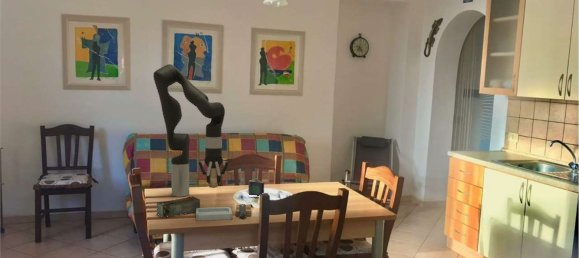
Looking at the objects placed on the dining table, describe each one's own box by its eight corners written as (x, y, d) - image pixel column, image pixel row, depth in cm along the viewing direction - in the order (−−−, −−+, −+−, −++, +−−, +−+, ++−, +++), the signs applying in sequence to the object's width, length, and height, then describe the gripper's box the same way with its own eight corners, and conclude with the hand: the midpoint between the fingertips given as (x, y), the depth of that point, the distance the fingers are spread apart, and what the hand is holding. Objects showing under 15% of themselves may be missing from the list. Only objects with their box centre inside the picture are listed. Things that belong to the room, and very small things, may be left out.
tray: (196, 213, 222) (196, 208, 222) (230, 212, 225) (230, 207, 224) (195, 220, 211) (195, 215, 211) (231, 219, 214) (231, 214, 214)
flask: (247, 197, 252) (247, 177, 251) (250, 195, 255) (250, 176, 253) (262, 199, 248) (263, 179, 247) (265, 198, 251) (265, 178, 249)
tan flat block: (236, 211, 228) (236, 205, 228) (250, 211, 229) (250, 205, 228) (235, 217, 218) (235, 211, 218) (250, 217, 219) (251, 211, 218)
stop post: (239, 216, 218) (239, 204, 217) (245, 216, 218) (245, 204, 218) (239, 218, 215) (239, 206, 214) (246, 218, 216) (246, 205, 215)
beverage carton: (155, 214, 220) (155, 200, 219) (193, 208, 231) (193, 195, 230) (162, 219, 213) (162, 204, 212) (201, 212, 225) (201, 198, 224)
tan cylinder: (209, 186, 217) (209, 166, 216) (217, 185, 218) (217, 166, 217) (209, 187, 214) (209, 168, 213) (217, 187, 215) (217, 168, 213)
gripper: (197, 147, 209) (197, 185, 211) (229, 147, 211) (229, 185, 213) (197, 145, 216) (197, 181, 218) (228, 145, 219) (228, 181, 221)
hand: (213, 183), depth 216 cm, fingers closed on tan cylinder, 3 cm apart
